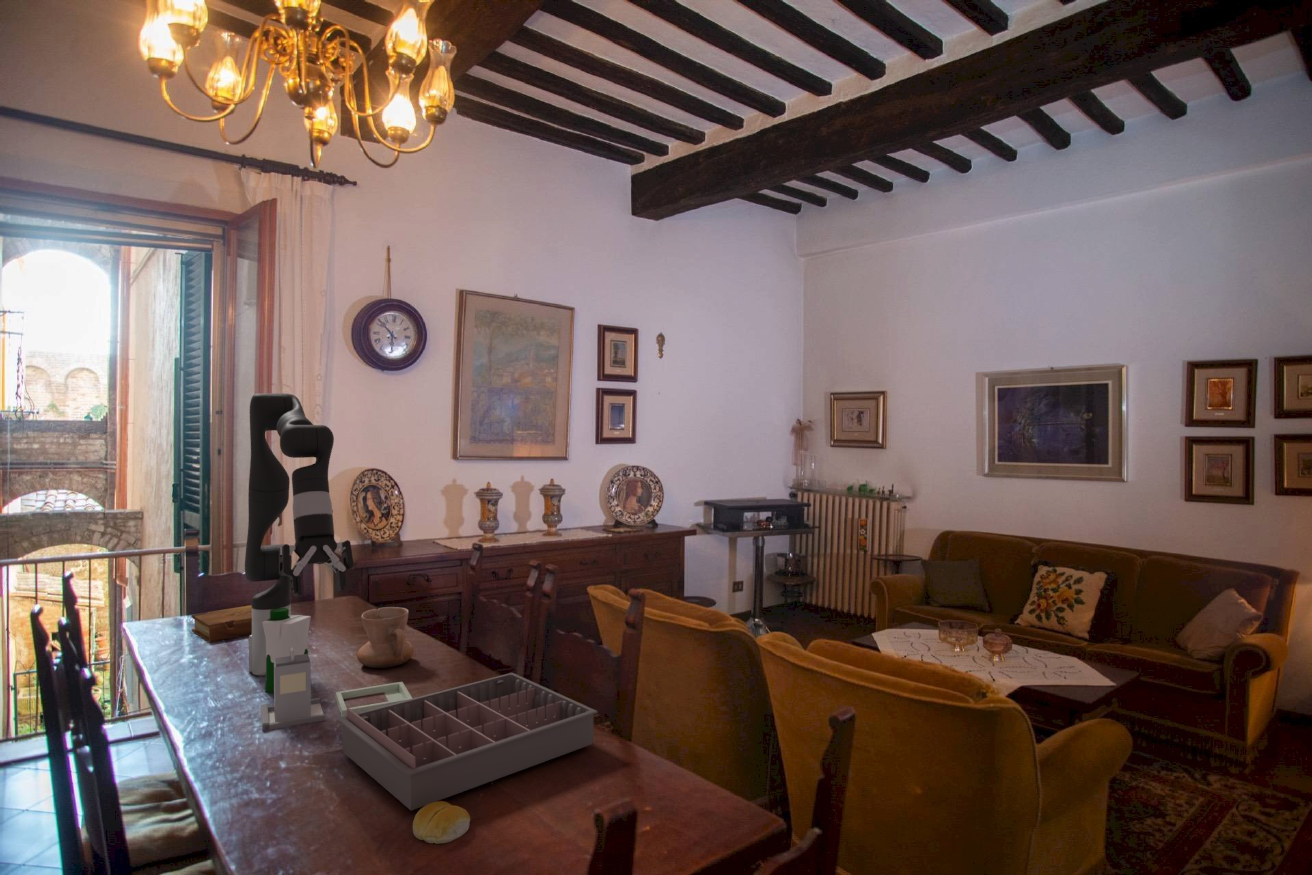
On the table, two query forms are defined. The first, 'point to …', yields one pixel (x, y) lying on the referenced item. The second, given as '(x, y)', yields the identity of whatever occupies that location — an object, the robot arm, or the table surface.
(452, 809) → the bread roll
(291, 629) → the milk carton
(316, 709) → the bay
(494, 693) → the organizer tray
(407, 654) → the ceramic jug
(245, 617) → the diary
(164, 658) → the table surface
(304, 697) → the labeled grey carton
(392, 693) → the tray
